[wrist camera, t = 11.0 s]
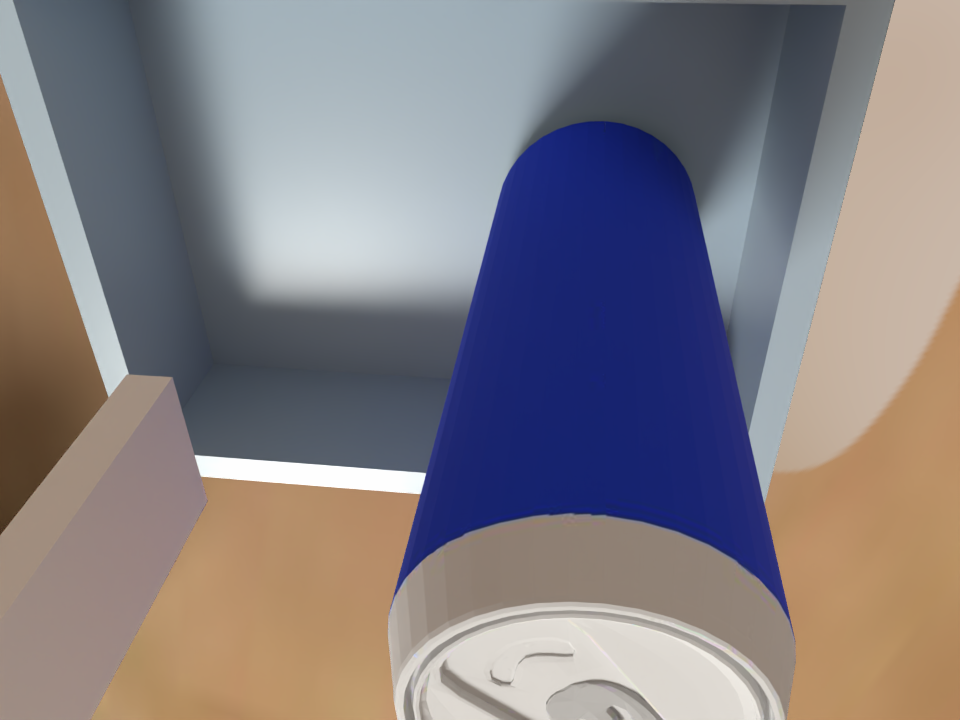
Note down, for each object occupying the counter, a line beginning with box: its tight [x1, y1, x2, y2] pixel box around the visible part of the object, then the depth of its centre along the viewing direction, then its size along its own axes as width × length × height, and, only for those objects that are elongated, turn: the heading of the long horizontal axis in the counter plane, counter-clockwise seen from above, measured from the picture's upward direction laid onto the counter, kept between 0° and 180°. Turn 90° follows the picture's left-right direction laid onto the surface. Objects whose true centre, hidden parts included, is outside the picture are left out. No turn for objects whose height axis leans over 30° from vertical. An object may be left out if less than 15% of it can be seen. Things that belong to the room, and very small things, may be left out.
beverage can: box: [388, 121, 796, 720], centre depth 16 cm, size 5×5×15 cm
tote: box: [0, 0, 895, 504], centre depth 21 cm, size 14×18×5 cm
